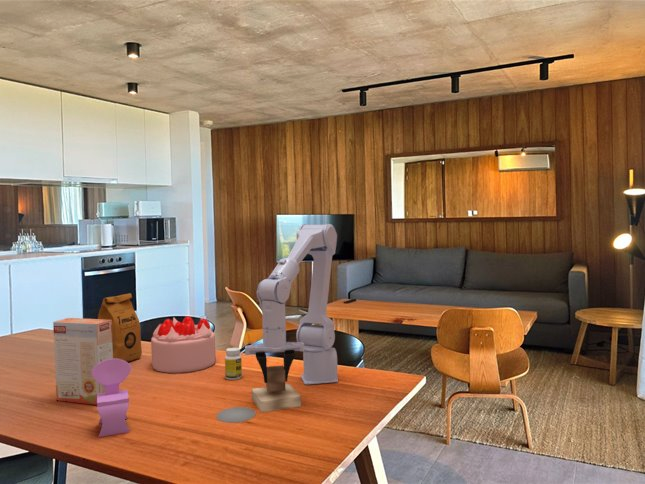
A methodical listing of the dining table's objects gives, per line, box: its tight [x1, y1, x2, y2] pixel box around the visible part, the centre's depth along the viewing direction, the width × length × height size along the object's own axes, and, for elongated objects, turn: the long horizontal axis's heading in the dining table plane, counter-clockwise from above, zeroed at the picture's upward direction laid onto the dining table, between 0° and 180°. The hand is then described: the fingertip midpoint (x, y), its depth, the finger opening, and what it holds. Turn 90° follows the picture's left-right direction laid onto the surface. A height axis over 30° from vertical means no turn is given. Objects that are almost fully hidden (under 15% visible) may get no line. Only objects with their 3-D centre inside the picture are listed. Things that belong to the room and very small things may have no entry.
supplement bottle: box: [224, 347, 243, 381], centre depth 150 cm, size 5×5×8 cm
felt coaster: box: [216, 406, 256, 424], centre depth 121 cm, size 9×9×1 cm
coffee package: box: [97, 292, 143, 363], centre depth 169 cm, size 10×12×22 cm
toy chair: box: [91, 359, 132, 438], centre depth 115 cm, size 8×9×15 cm
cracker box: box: [52, 317, 113, 406], centre depth 133 cm, size 14×6×21 cm, turn 71°
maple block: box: [251, 383, 302, 413], centre depth 129 cm, size 10×10×3 cm
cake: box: [150, 315, 217, 374], centre depth 164 cm, size 20×20×14 cm
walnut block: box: [265, 365, 286, 392], centre depth 129 cm, size 4×4×5 cm
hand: (275, 381), depth 129 cm, fingers closed on walnut block, 4 cm apart
